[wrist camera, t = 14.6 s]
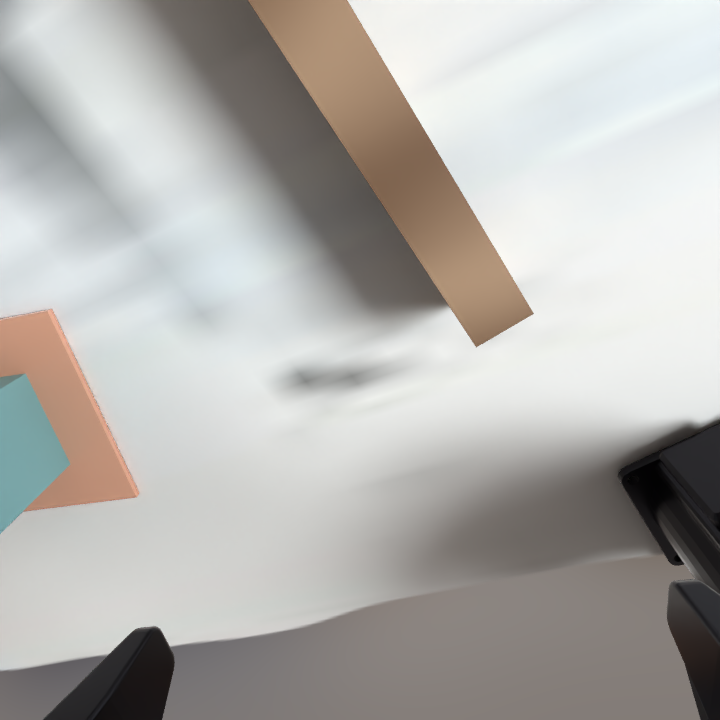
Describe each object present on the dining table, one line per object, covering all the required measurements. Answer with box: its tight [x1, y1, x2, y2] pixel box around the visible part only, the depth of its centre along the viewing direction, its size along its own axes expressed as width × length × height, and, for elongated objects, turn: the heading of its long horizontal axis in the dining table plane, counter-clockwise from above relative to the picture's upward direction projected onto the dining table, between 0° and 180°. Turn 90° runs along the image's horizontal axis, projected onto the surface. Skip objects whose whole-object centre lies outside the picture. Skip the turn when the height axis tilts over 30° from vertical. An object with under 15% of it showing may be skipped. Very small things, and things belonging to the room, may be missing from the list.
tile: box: [0, 309, 139, 511], centre depth 23 cm, size 10×10×1 cm
